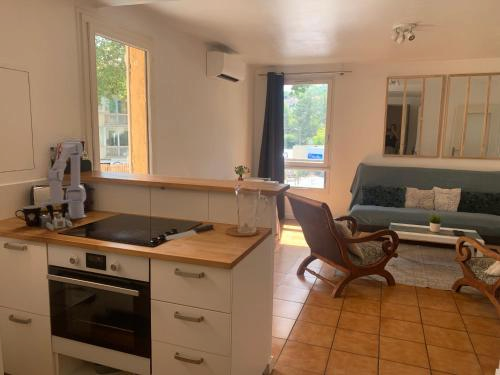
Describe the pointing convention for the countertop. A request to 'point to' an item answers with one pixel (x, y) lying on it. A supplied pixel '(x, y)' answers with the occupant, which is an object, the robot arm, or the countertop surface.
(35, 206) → the coffee mug
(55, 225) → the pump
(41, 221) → the block
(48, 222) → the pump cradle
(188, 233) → the kitchen knife
